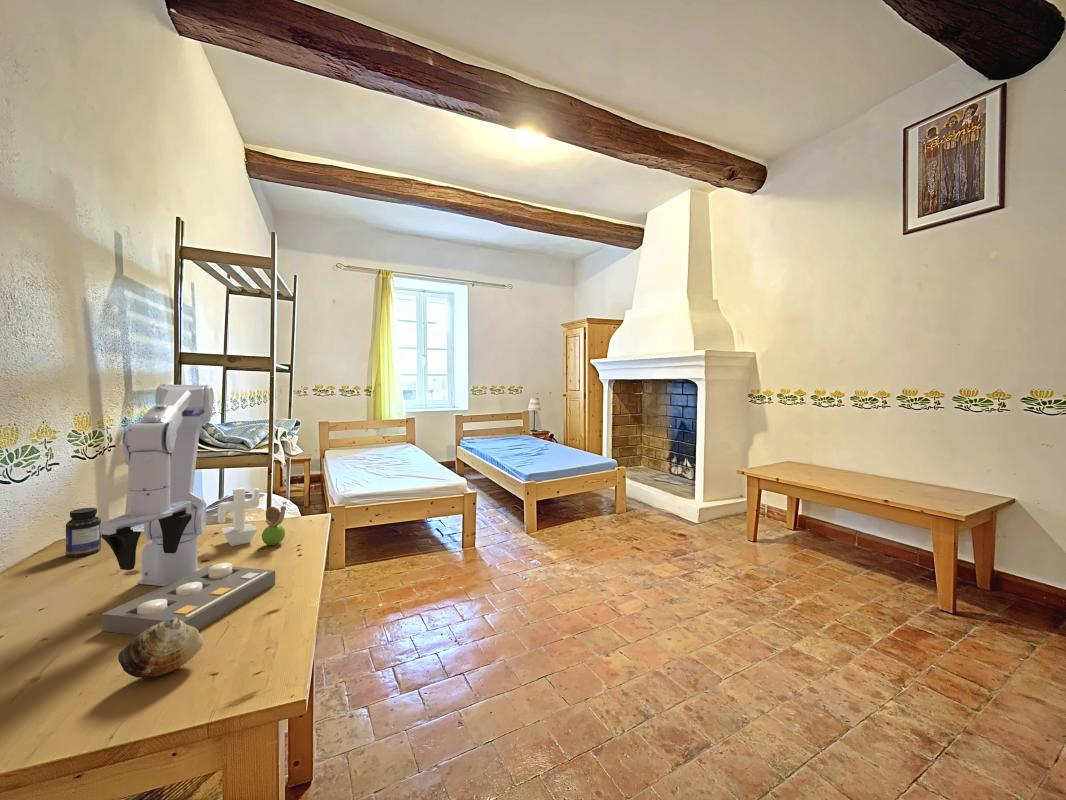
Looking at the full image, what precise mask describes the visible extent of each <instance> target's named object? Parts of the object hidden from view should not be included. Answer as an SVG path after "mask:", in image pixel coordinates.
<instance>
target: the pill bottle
mask: <svg viewBox="0 0 1066 800" xmlns="http://www.w3.org/2000/svg"><path fill="white" fill-rule="evenodd" d="M97 514H98V508H97V507H84V508H77V509H73V510H71V511H69V518H71V519H70V520H68V521H67V522H66V524H65V556H66V557H68V558H78V557H85V556H90V555H94V554H95V553H98V552H99V551H100V550H101V549H102V534H100V523H102V519H101V518H100V517H99V516H97Z"/></svg>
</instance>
